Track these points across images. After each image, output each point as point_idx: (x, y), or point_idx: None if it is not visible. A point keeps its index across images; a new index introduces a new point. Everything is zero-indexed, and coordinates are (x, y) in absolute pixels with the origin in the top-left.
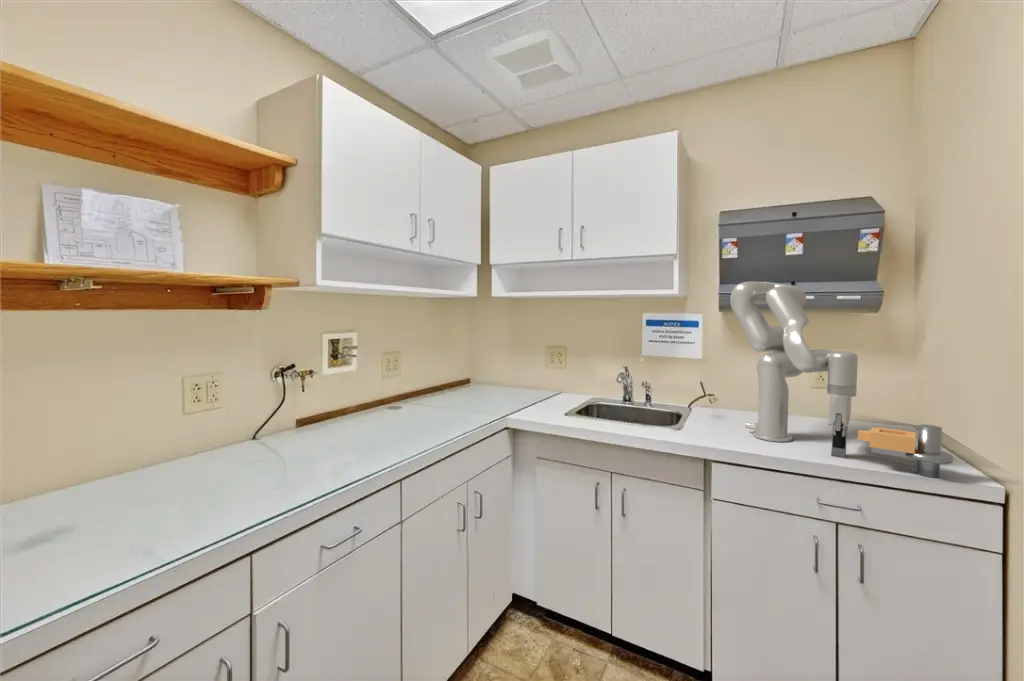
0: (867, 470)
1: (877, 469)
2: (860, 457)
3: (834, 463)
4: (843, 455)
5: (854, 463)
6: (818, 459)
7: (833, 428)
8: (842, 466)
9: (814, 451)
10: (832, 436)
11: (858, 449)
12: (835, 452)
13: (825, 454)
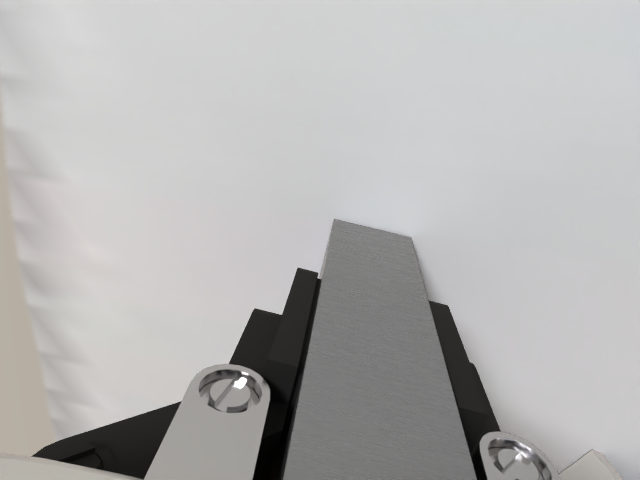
0: (50, 397)
1: None
2: None
3: (86, 207)
4: None
5: (188, 356)
6: (134, 78)
7: (283, 469)
8: (35, 255)
9: (454, 71)
10: (311, 336)
11: (605, 475)
12: (322, 268)
13: (372, 173)
